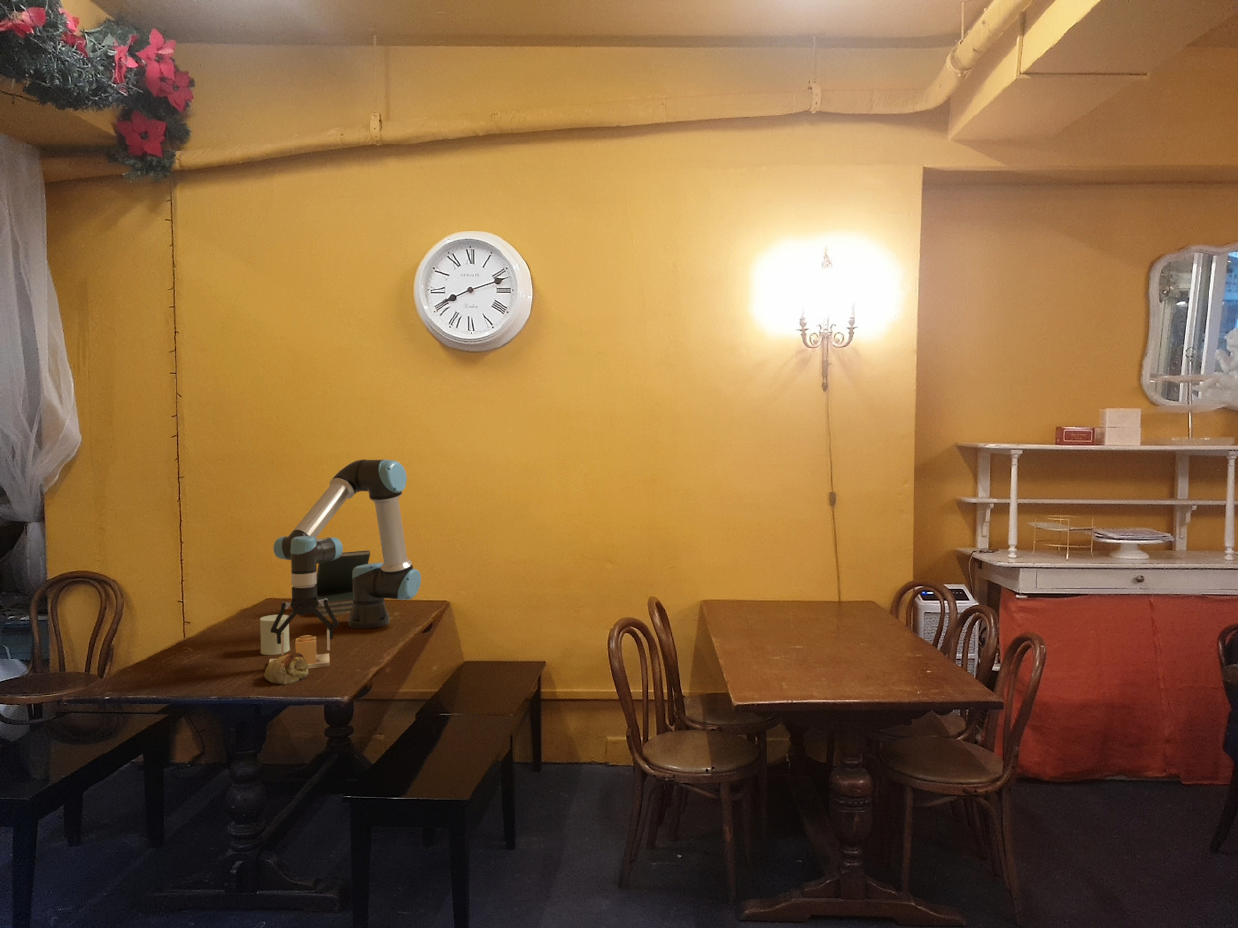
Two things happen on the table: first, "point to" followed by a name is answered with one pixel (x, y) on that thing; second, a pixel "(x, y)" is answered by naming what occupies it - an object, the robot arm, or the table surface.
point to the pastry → (287, 669)
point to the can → (272, 635)
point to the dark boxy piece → (338, 581)
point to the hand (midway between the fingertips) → (305, 651)
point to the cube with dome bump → (307, 648)
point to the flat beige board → (318, 661)
